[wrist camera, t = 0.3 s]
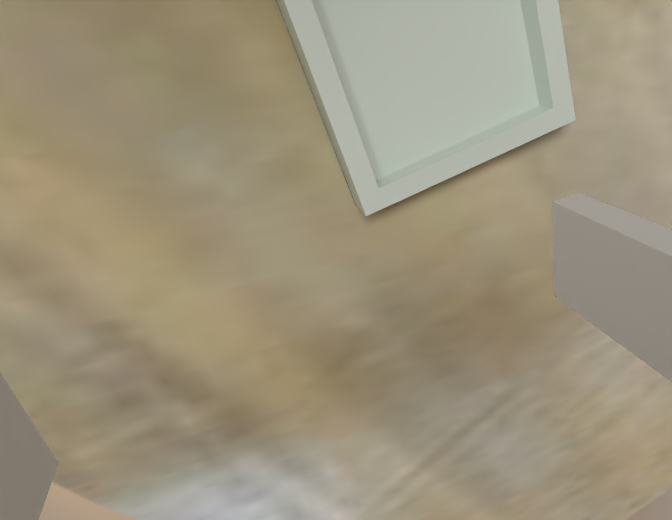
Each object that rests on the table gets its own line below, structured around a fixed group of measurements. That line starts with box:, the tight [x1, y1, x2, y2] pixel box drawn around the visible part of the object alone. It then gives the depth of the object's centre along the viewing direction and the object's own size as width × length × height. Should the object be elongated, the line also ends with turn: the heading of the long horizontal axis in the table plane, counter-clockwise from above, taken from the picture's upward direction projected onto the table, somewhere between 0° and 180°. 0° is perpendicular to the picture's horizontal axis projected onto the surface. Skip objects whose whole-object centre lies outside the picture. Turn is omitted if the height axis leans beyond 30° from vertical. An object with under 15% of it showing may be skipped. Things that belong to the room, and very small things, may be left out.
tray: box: [276, 0, 576, 216], centre depth 35 cm, size 18×18×3 cm
